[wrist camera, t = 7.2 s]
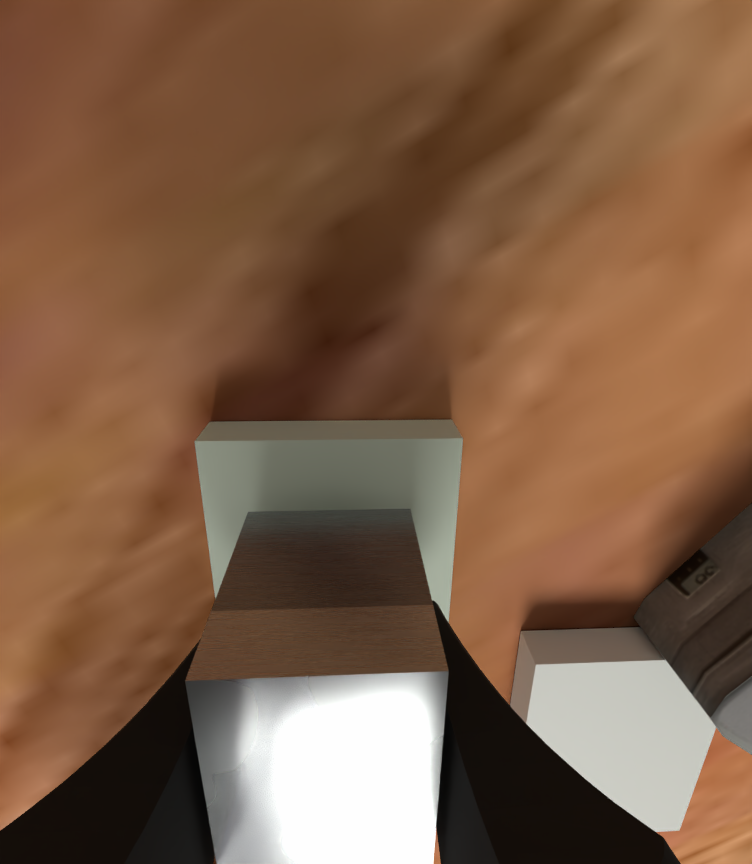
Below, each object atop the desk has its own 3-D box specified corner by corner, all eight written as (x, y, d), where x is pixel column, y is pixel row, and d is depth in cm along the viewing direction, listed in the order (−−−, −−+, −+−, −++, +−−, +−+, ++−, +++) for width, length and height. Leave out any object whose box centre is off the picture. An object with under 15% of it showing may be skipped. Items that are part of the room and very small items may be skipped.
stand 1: (435, 655, 18) (443, 691, 16) (238, 662, 17) (228, 699, 16) (451, 419, 14) (462, 438, 13) (209, 421, 14) (194, 441, 13)
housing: (403, 688, 14) (429, 901, 10) (265, 693, 14) (225, 913, 10) (410, 508, 12) (449, 670, 8) (247, 511, 12) (184, 680, 7)
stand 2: (657, 791, 21) (679, 830, 20) (496, 799, 21) (506, 839, 19) (710, 624, 18) (741, 657, 16) (520, 630, 17) (535, 664, 16)
